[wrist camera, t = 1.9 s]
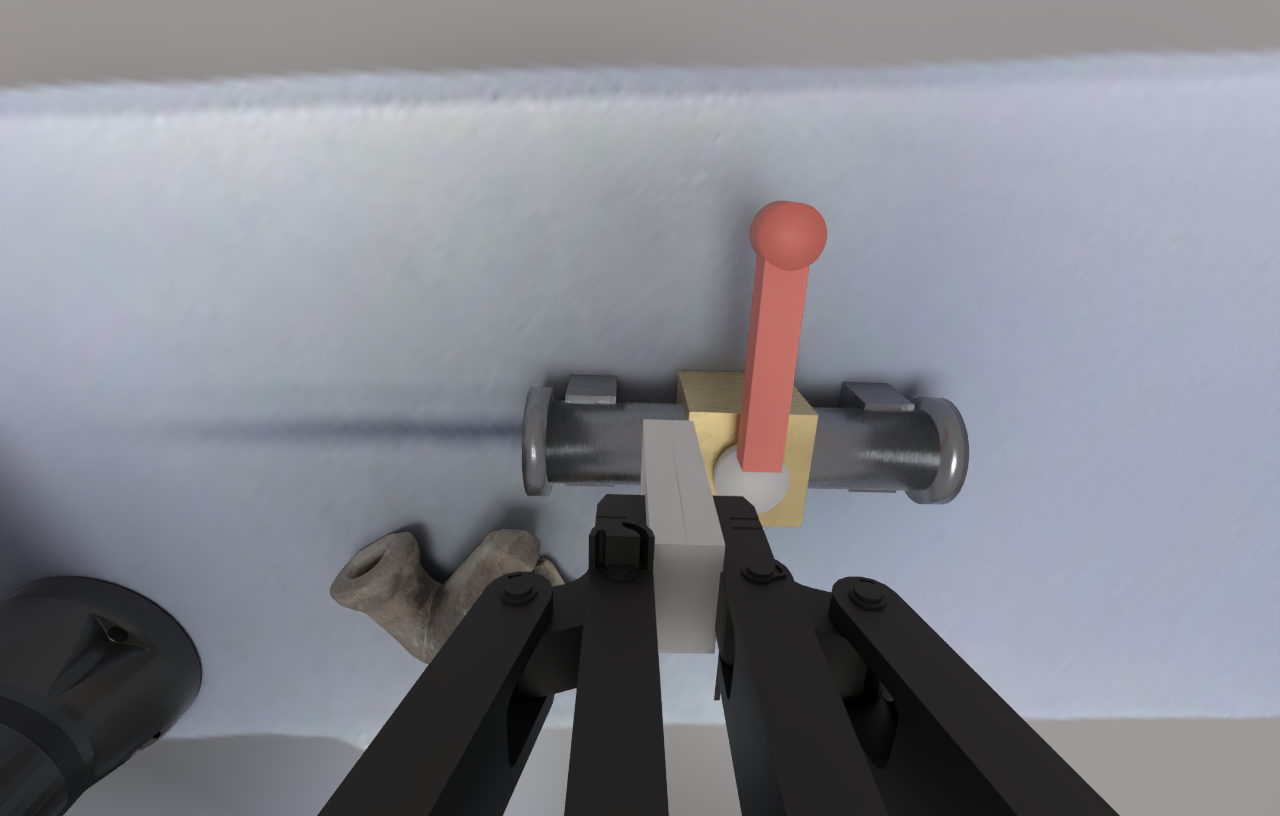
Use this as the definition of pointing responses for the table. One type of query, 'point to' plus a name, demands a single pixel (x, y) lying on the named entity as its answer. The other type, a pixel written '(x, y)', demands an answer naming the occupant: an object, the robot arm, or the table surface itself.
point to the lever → (771, 352)
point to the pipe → (431, 585)
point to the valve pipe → (814, 451)
